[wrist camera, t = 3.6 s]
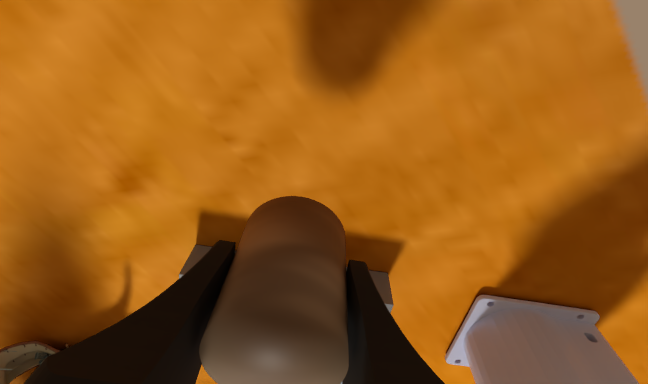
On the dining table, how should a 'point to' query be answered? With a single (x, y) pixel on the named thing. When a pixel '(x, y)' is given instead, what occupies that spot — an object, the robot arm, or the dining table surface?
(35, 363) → the figurine
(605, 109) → the dining table surface
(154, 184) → the dining table surface
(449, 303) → the dining table surface
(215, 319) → the walnut cylinder
